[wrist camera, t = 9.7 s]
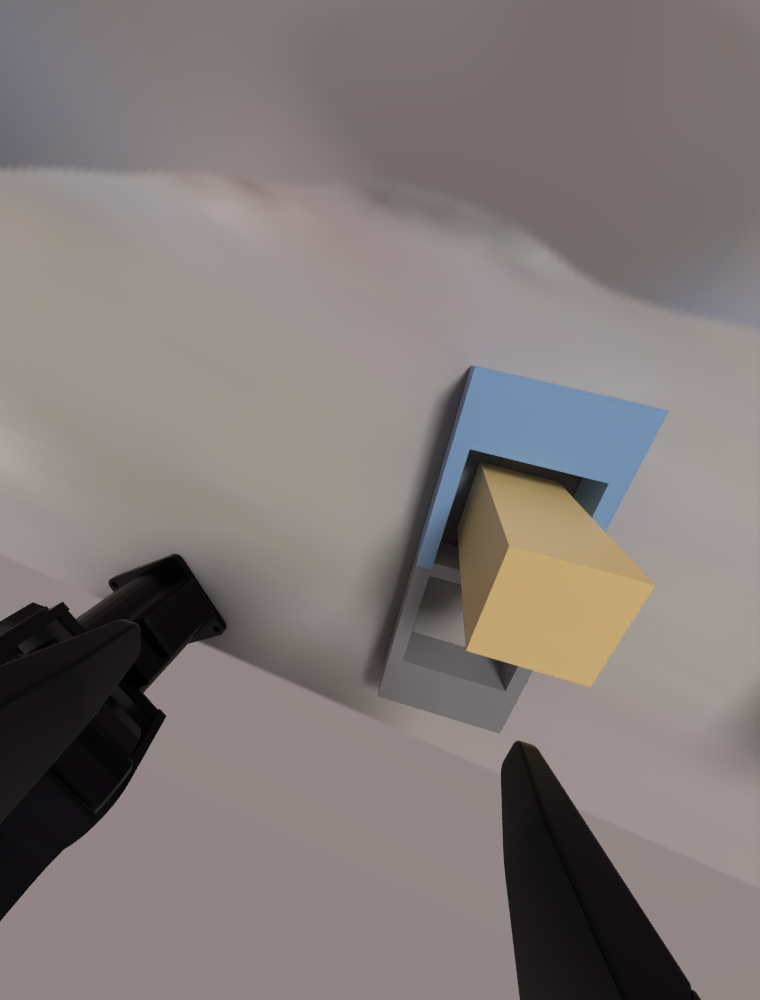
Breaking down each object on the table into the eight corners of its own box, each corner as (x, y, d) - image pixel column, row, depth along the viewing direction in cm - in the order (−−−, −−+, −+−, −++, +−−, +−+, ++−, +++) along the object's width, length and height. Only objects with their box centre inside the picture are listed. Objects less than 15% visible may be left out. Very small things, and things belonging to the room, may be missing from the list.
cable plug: (528, 548, 20) (590, 687, 11) (457, 529, 20) (465, 650, 12) (558, 481, 18) (655, 585, 10) (480, 461, 18) (509, 546, 10)
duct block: (494, 697, 24) (499, 733, 21) (383, 664, 24) (377, 695, 22) (636, 403, 16) (668, 410, 14) (471, 365, 17) (475, 366, 14)
